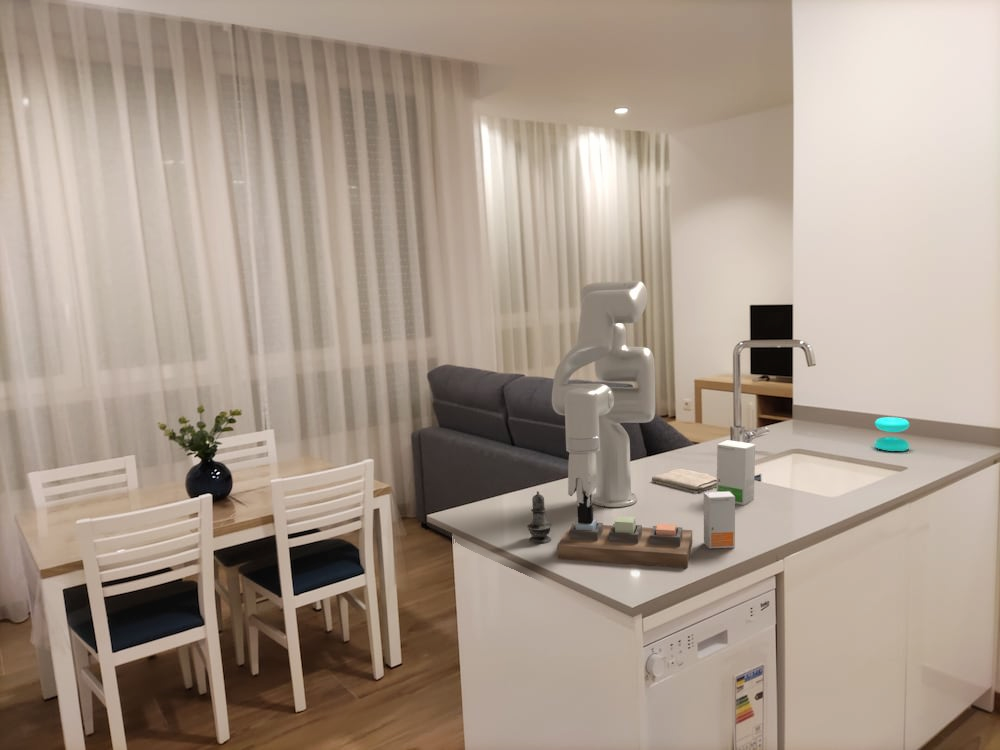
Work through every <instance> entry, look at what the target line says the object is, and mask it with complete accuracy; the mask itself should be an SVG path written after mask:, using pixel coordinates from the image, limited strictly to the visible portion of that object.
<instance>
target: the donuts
mask: <svg viewBox="0 0 1000 750" xmlns="http://www.w3.org/2000/svg"><path fill="white" fill-rule="evenodd" d="M874 425H875V427H876V429H878V430H880V431H883V432H889V433H899V432H903V431H904V432H905V431H906V430H908V429H909V427H910V422H909V421H908V420H907V419H905V418H900V417H892V416H891V417H888V416H887V417H880V418H877V419H876V420H875V422H874ZM874 447H875V448H876V449H877V448H878V449H877V450H879V449H882V450H888V451H902V452H905V451H908V449H909V447H910V444H909V442H908V441H907V440H906V439H903V438H901V437H896V436H895V437H894V436H885V437H884V436H883V437H879V438H878V439H876V441H875V442H874ZM882 450H881V451H882ZM888 451H887V452H888Z"/></svg>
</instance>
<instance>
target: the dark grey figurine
mask: <svg viewBox="0 0 1000 750" xmlns="http://www.w3.org/2000/svg"><path fill="white" fill-rule="evenodd" d="M544 497H545V496H544V495H542V494H540V492H539V490H538V491H536V494H535V495H533V496H532V499H531V500H532V503H531V504H532V509H530V511H531V512H532V520H531V522H529V523H528V524H527V525H526V528H528V532H529V534H530V535H531V537H529V539H528V541H529V542H530V543H531V544H537V545H541V544H542V545H543V544H548V543H550V542H551V541H552V538H551V537H550V536H548V535H549V534H550V532H551V528H552V523H550V522H549V521H547V519H546V512H547V508H546V507H545V498H544Z"/></svg>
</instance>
